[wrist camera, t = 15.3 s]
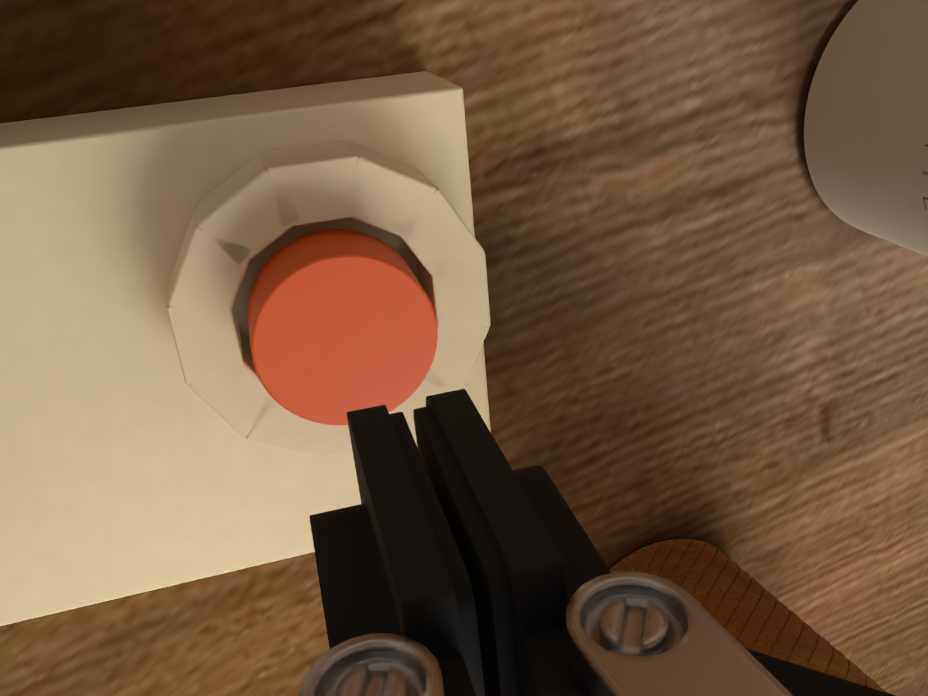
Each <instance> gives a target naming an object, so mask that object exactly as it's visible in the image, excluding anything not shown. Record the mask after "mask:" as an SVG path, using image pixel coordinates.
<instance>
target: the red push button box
mask: <svg viewBox="0 0 928 696" xmlns="http://www.w3.org/2000/svg"><path fill="white" fill-rule="evenodd" d="M331 229H346V230H352V231H358V232H362V233H365V234H368V235H371V236H373V237H375V238H377V239H379V240H381V241H383V242H384V243H386V244H387V245H389V246H390V247H391V248H392V249H394V250H395V251H396V252H397V253H398V254H399V255H400V256H401V257H402V258H403V259H404V261H405V262H406V264H407V265H408V266H409V268H410V269H411V271H412V272H413V274H414V276H415V277H416V279H417V280H418V282H419V283H420V285H421V286H422V288H423V289H424V291H425V292H426V294H427V296H428V298H429V300H430V302H431V304H432V306H433V309H434V312H435V316H436V321H437V331H438V339H437V348H436V352H435V356H434V360H433V362H432V365H431V367H430V370H429V372H428V373H427V375H426V377H425V379H424V380H423V382H422V383H421V385H420V386H419V388H418V389H417V390H416V391H415V392H414V393H413V394H412V395H411V396H410V397H409V398H408V399H407V400H406V401H405V402H404V403H402V404H401V405H400V406H398V407H397V408H395V409H394V410H392V411H391V412H389V414H392V413H397V412H403V414H404V416H405V419H406V421H407V423H408V426H409V428H410V431H411V433H412V436H413V438H414V441H415V443H416V446H417V440H416V432H415V425H414V416H413V411H414V409H417V408H422V407H426V396H430V395H435V394H440V393H445V392H450V391H455V390H460V389H465V390H466V391H467V393H468V394H469V396H470V398H471V400H472V401H473V403H474V405H475V407H476V408H477V410H478V412H479V413H480V415H481V417H482V419H483V420H484V422H485V424H486V426H487V427H488V429H489V431H490V432H491V428H490V416H489V404H488V392H487V380H486V367H485V355H484V343H483V341H484V339H485V337H486V335H487V333H488V330H489V327H490V325H491V323H490V310H489V297H488V284H487V271H486V258H485V253H484V250H483V248H482V247H481V245H480V244H479V243H478V241H477V240H476V239H475V233H474V221H473V209H472V197H471V184H470V172H469V160H468V148H467V136H466V123H465V111H464V99H463V90H462V88H461V87H459V86H457V85H455V84H453V83H451V82H449V81H447V80H445V79H443V78H440V77H438V76H436V75H434V74H432V73H430V72H428V71H421V72H413V73H405V74H397V75H389V76H381V77H373V78H365V79H357V80H349V81H341V82H333V83H324V84H316V85H308V86H300V87H292V88H284V89H276V90H268V91H260V92H252V93H244V94H235V95H227V96H219V97H211V98H203V99H195V100H187V101H179V102H171V103H163V104H155V105H146V106H138V107H130V108H122V109H114V110H106V111H98V112H90V113H82V114H74V115H66V116H57V117H49V118H41V119H33V120H25V121H17V122H9V123H1V124H0V626H3V625H7V624H11V623H15V622H20V621H24V620H28V619H32V618H36V617H41V616H45V615H49V614H53V613H58V612H62V611H66V610H70V609H75V608H79V607H83V606H87V605H92V604H96V603H100V602H104V601H108V600H113V599H117V598H121V597H125V596H130V595H134V594H138V593H142V592H147V591H151V590H155V589H159V588H164V587H168V586H172V585H176V584H180V583H185V582H189V581H193V580H197V579H202V578H206V577H210V576H214V575H219V574H223V573H227V572H231V571H236V570H240V569H244V568H248V567H253V566H257V565H261V564H265V563H269V562H274V561H278V560H282V559H286V558H291V557H295V556H299V555H303V554H308V553H312V552H315V550H314V544H313V537H312V531H311V525H310V517H309V515H314V514H318V513H323V512H327V511H332V510H337V509H341V508H346V507H350V506H355V505H359V504H361V499H360V493H359V487H358V481H357V475H356V469H355V463H354V457H353V451H352V445H351V439H350V433H349V427H348V425H326V424H321V423H316V422H312V421H309V420H306V419H303V418H301V417H299V416H297V415H295V414H293V413H291V412H290V411H288V410H287V409H285V408H283V407H282V406H281V405H280V404H279V403H277V402H276V401H275V400H274V399H273V398H272V397H271V395H270V394H269V393H268V392H267V391H266V389H265V388H264V386H263V385H262V383H261V382H260V380H259V377H258V375H257V373H256V371H255V367H254V364H253V361H252V354H251V345H250V335H249V325H248V303H249V296H250V293H251V289H252V286H253V284H254V282H255V279H256V277H257V275H258V274H259V272H260V270H261V269H262V267H263V266H264V265H265V263H266V262H267V261H268V260H269V259H270V258H271V256H273V255H274V254H275V253H276V252H277V251H278V250H279V249H281V248H282V247H283V246H285V245H286V244H288V243H289V242H291V241H293V240H295V239H297V238H299V237H301V236H304V235H307V234H309V233H313V232H317V231H322V230H331Z"/></svg>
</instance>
